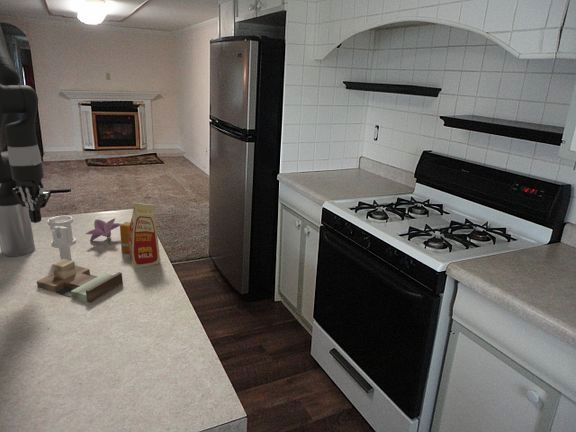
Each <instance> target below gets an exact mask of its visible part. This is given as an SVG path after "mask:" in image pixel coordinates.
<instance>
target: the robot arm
mask: <svg viewBox="0 0 576 432" xmlns="http://www.w3.org/2000/svg"><path fill="white" fill-rule="evenodd" d="M20 82H21V78H20V75H19V73H18V70H17V68H16V67H15V64H14V63H13V61H12V59H11V56H10V53H9V50H8V46H7V43H6V39H5V35H4V33H3V29H2V25H1V24H0V132H1V130H2V127H3V125H4V121H5V119H6V115H7V114H9V115H11V114H22V116H21V118H20V120H16V121H12V122H9V123H7V124H5V125H4V128H3V130H4V136H5V142H6V145H7V150H6V151H0V252H1V253H2V254H3V256H6V257H20V256H24V255H28V254H30V253H33V252H34V251H35V250H36V246H35V240H34V233H33V228H32V223H34V224H37V223H40V222H42V214H41V213H42V212H41V209H43V208H46V206H47V205H48V202H49V199H50V198H51V195H52V193H51V192H50V191H46V190H45V189H44V184H43V182H42V179H43V178H44V177H45V176H44V168H43V163H42V156H41V151H40V147H39V145H38V138H37V133H36V122H37V121H36V120H37V113H38V107H39V97H38V94H37V91H36V90H35V89H34V88H33V87H31V86H30V85H26V84H23V85H22V84H21V85H20Z"/></svg>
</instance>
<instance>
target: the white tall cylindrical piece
mask: <svg viewBox="0 0 576 432" xmlns="http://www.w3.org/2000/svg"><path fill="white" fill-rule="evenodd" d="M60 220H66V221H60ZM58 221H59V222H58ZM73 222H74V218H73V216H71V215H57V216H52V217H50V218H48V219H47V225H48V226H49V229H50V230H51V233H52V235H51V236H52V240H51V241H50V245H51V247H52V248H56V249H59V250H58V251H59V256H60V260H62V259H67V260H71V261H72V254H71V247H72V246H74V245H76V243H77V239H76V237H74V236H73V229H72V225H71V224H72V223H73Z"/></svg>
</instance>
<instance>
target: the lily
mask: <svg viewBox="0 0 576 432" xmlns="http://www.w3.org/2000/svg"><path fill="white" fill-rule="evenodd" d="M115 220H116V218H115V217H114V218H112V219H110V220H109V221H107V222H106V221H104V220H101V219H95V220H94V222H93V223H94V224H93V226H94V229H92V230H89V231H87V232H86V233H85V235H91V237H90V239H89V241H90V242H92V241H94V240H96V239H97V238H99V237H101V236H102V237H105V238H106V239H107V241H108V243H109V245H110V246H112V245H111V242H110V240H109V238H111V235H112V230H114V229H116V228H120V225H121V224H122V223H119V222H118V223H117V222H115Z"/></svg>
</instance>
